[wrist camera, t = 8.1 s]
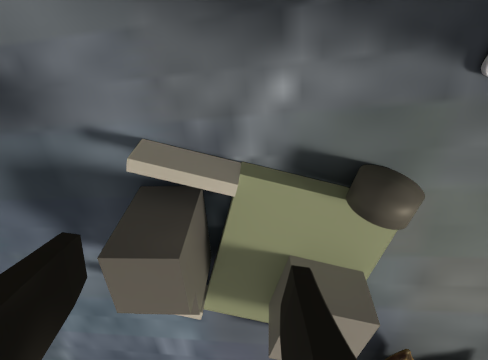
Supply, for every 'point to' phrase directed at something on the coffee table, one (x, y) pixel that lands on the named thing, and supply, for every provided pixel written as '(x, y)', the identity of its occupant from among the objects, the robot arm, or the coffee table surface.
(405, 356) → the ceramic sculpture
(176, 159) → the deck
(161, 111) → the coffee table surface
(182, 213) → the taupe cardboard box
